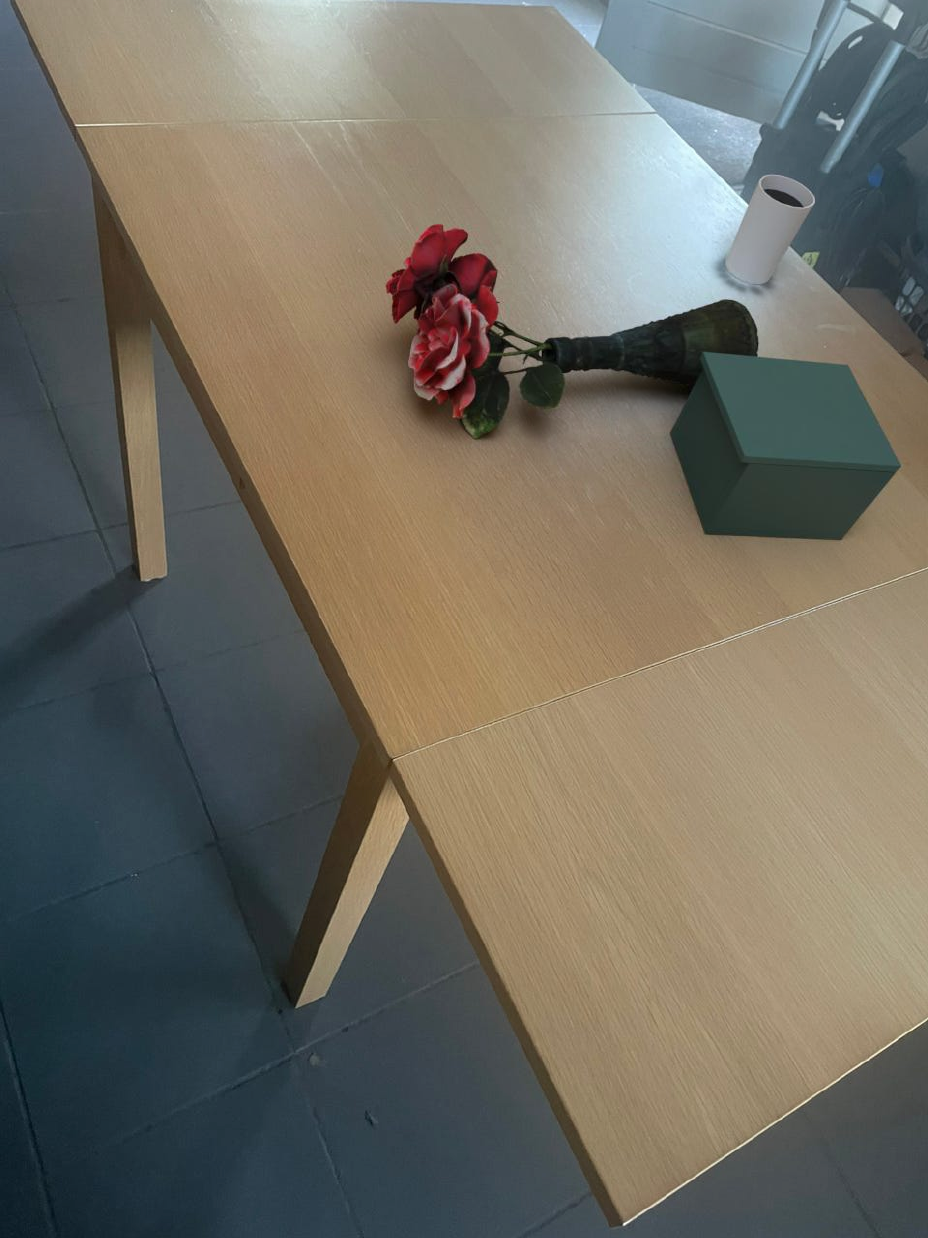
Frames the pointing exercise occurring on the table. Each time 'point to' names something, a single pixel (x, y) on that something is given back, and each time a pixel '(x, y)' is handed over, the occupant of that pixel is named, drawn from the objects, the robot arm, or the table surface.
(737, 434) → the lid
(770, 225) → the white cup
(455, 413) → the vase with roses
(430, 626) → the table surface
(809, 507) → the chest
